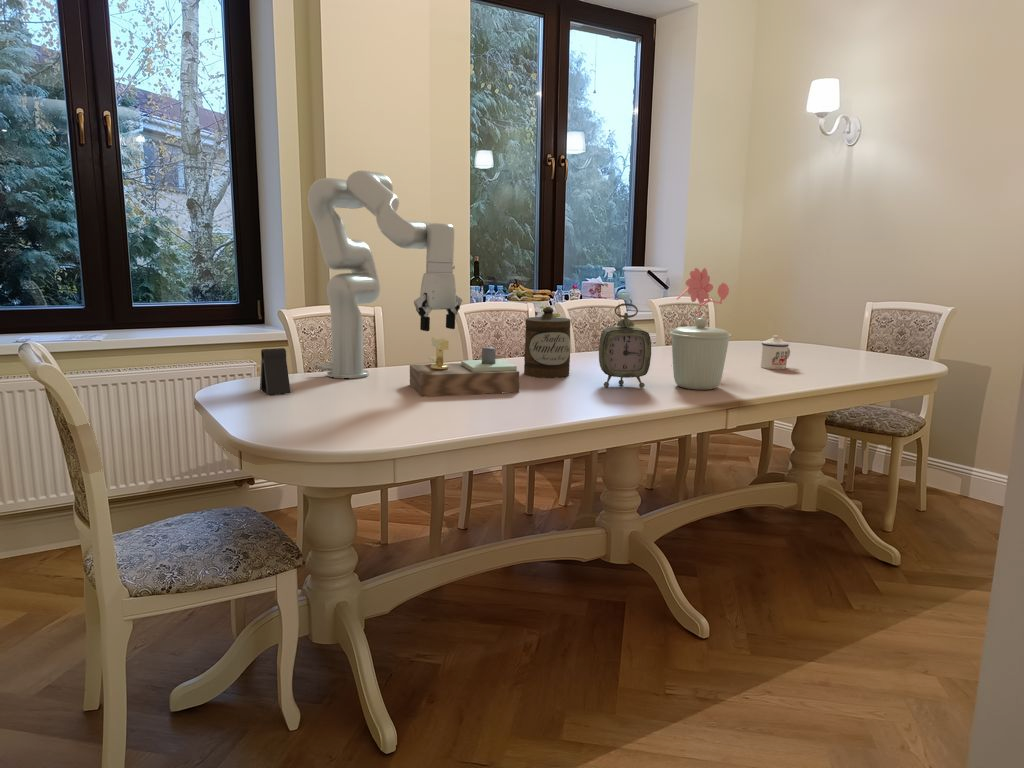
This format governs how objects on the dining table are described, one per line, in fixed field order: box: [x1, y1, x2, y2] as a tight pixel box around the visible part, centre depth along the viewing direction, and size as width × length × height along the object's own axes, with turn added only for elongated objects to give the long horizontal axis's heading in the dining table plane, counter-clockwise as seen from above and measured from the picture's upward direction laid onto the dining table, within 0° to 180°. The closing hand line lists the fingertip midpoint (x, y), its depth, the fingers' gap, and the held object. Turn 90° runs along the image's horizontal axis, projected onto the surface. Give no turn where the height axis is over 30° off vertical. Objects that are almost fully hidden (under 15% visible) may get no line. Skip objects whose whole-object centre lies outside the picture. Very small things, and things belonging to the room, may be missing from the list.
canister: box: [669, 317, 732, 391], centre depth 224 cm, size 18×18×21 cm
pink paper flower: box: [676, 267, 730, 327], centre depth 262 cm, size 15×26×35 cm, turn 28°
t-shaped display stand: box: [427, 336, 449, 370], centre depth 214 cm, size 15×5×8 cm, turn 19°
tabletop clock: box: [598, 303, 652, 389], centre depth 223 cm, size 14×9×25 cm, turn 92°
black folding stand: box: [259, 347, 291, 396], centre depth 204 cm, size 9×6×12 cm, turn 32°
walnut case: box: [409, 362, 520, 398], centre depth 215 cm, size 28×18×6 cm, turn 108°
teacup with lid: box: [760, 334, 791, 371], centre depth 266 cm, size 12×9×12 cm
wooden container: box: [523, 306, 572, 379], centre depth 242 cm, size 15×15×22 cm
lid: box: [460, 346, 518, 372], centre depth 216 cm, size 13×13×6 cm
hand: (437, 329), depth 211 cm, fingers open, 9 cm apart
